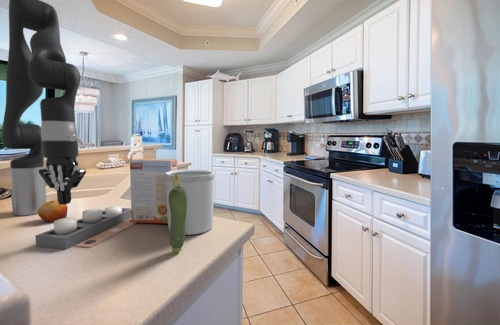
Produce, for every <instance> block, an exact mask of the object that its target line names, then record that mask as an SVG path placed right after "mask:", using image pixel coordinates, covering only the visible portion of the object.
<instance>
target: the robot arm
mask: <svg viewBox="0 0 500 325" xmlns="http://www.w3.org/2000/svg"><path fill="white" fill-rule="evenodd" d="M24 29H27V30H30V31H33V32H34V33H33V34H32V36H31V37H30V41H29V45H30V47H29V45H28V43H27V39H26V38H25V34H24ZM8 30H9V31H8V35H9V36H8V38H9V40H8V43H9V46H8V55H7V68H6V79H5V80H6V82H5V84H6V85H5V86H6V87H5V91H6V92H5V94H6V95H5V109H4V115H3V121H2V126H1V127H2V129H1V141H2V145H3V146H4V148H6V149H8V150H9V149H10V150H29V152H28V153H26V154H25V155H23V156H20V157H17V158H14V159H12V160H10V163H9V164H10V166H9V167H10V176H11V188H10V195H11V196H10V197H11V207H12V209H11V210H12V214H14V215H15V216H30V215H31V216H32V215H36V214H37V215H38V210H39V208H40V207H41V206H42V205H43V204H44V203H46V202H48V201H47V191H46V185H47V186H48V187H49V188H50V189H54V190H55V191H56V196H57V197H56V200H58V202H59V204H61V205H65V204H66V205H68V204H70V203H71V201H72V193H71V192H72V189H74V188H77V187H78V186H79V185H80V183H81V181H82V180H83V178H84V177H85V176H86V174H87V169H83V168H81V167H80V166H79V163H78V160H77V158H78V157H79V143H78V140H79V139H78V129H77V125H76V114H75V112H76V111H75V106H76V105H75V104H76V98H77V94H78V90H79V86H80V83H81V74H80V71H79V69H78V68H77V67H76V66H75V65H74V64H72V63H68V62H67V59H66V55H65V53H64V52H65V51H64V49H63V48H62V45H61V44H62V43H61V34H60V23H59V17H58V13H57V11H56V9H55V7H54V6H52V5H51V4H49V3H47V2H45V1H43V0H9V1H8ZM44 89H51V90H59V91H60V90H61V91H63V94H62V95H61V96H55V97H46V98H45V97H44V98H43V99H41V100H40V101H39V102H40V104H39V106H40V107H39V108H40V118H41V125H39V124H35V123H19V122H20V120H21V118H22V116H23V114H24V113H25V112H26V111H27V110H28V109H29V108H30V107H31V106H32V105H34V104H35V103H36V102H37V101H38V100H39V98H41V96H42V95H43V91H44ZM44 159H46V162H45V161H44ZM44 162H45V164H44Z"/></svg>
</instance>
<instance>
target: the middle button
mask: <svg viewBox="0 0 500 325" xmlns="http://www.w3.org/2000/svg"><path fill="white" fill-rule="evenodd" d="M102 211H103V209H101V208H90V209H86V210H83V211H82V212H81V213H82V218H83V223H88V224H89V223H96V222H99V221H101V220H102Z"/></svg>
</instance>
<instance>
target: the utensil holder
mask: <svg viewBox="0 0 500 325" xmlns="http://www.w3.org/2000/svg"><path fill="white" fill-rule="evenodd" d="M176 173H178V174H179V178H180V182H181V186H180V187H182V188H183V189H184V190H185V191H186V194H187V213H186V223H185V236H190V235H192V236H193V235H199V234H203V233H207V232H209V231H210V230H211V229H212V228H213V224H214V192H215V189H214V188H215V182H214V181H215V180H214V179H215V177H216V174H215V172H214V171H213V170H209V169H178V170H177V171H170V172H166V173H165V177H166V180H167V216H168V224H167V228H168V231H169V232H170V229H171V212H170V205H169V193H170V191H171V190H172V189H173V188H174V187H173V185H172V181H173V178H174V176H175V174H176Z"/></svg>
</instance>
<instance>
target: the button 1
mask: <svg viewBox="0 0 500 325" xmlns="http://www.w3.org/2000/svg"><path fill="white" fill-rule="evenodd" d="M77 220H78V218H76V217H67V218H63V219H59V220H56V221H54V222H53V229H54V234H55V235H65V234H70V233H73V232H75V231H77Z"/></svg>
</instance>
